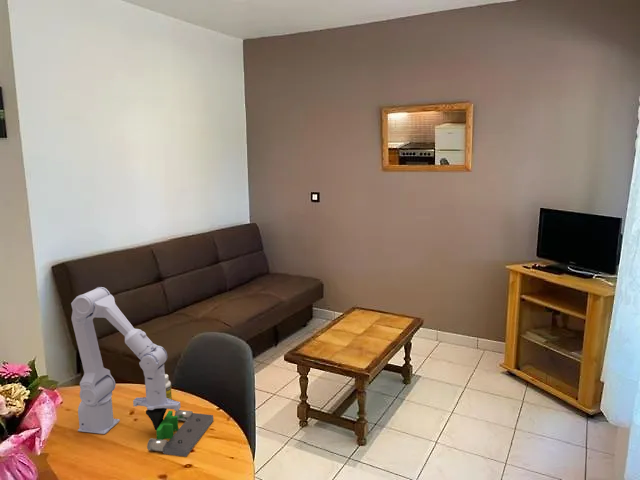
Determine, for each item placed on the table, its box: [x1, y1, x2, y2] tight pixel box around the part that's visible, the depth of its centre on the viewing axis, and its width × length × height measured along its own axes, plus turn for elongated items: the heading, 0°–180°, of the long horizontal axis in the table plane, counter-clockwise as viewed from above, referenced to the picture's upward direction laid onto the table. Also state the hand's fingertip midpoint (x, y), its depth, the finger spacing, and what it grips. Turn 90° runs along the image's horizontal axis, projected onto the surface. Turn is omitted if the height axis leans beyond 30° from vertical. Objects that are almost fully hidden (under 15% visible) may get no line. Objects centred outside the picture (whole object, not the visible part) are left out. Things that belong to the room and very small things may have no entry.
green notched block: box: [155, 410, 179, 440], centre depth 150 cm, size 11×4×5 cm, turn 178°
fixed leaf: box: [146, 409, 214, 458], centre depth 149 cm, size 12×19×3 cm, turn 169°
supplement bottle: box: [165, 373, 173, 400], centre depth 168 cm, size 5×5×10 cm
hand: (158, 429), depth 150 cm, fingers closed
